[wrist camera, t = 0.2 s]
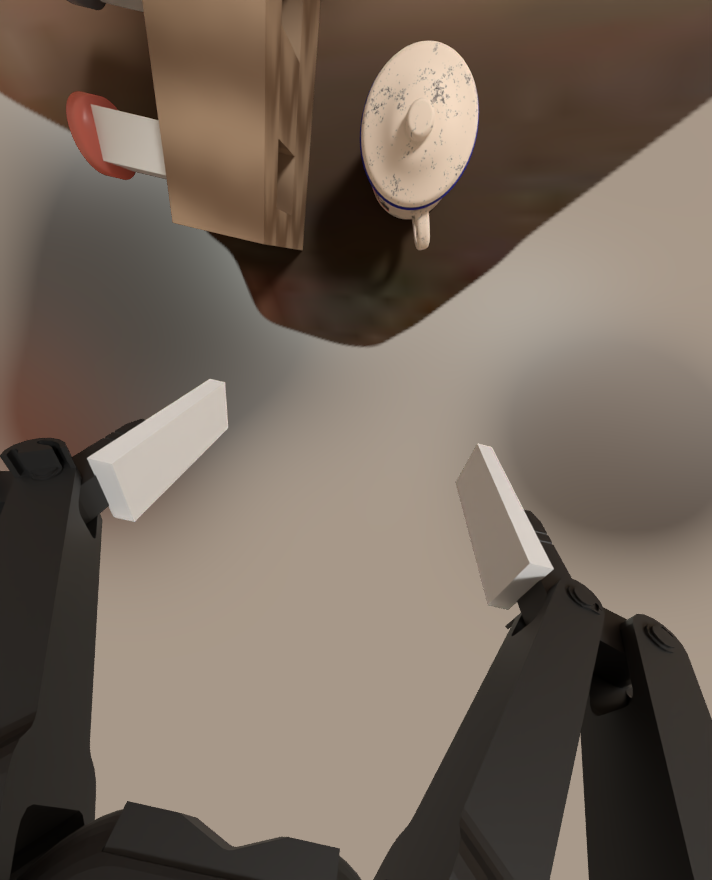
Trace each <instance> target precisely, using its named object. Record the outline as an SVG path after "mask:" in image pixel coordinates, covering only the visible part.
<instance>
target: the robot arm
mask: <svg viewBox="0 0 712 880" xmlns="http://www.w3.org/2000/svg"><path fill="white" fill-rule="evenodd" d="M227 429H228V418H227V403H226V389H225V382H221V381H217V380H213V379H209V380H208V381H206V382H204V383H203V384H201V385H200V386H198V387H197V388H195V389H194V390H192V391H190V392H189V393H187V394H186V395H184V396H183V397H181V398H180V399H178V400H176V401H175V402H173V403H172V404H170V405H169V406H167V407H166V408H164V409H163V410H161V411H159V412H158V413H156V414H155V415H153V416H152V417H150V418H148V419H147V420H144V419H140V420H137V421H134V422H131V423H128V424H126V425H124V426H122V427H121V428H119V429H117V430H116V431H115V432H113V433H111V434H109V435H107V436H106V437H105V439H104V438H103V439H101V440H99V441H98V442H96V443H94V444H93V445H91V446H90V447H88V448H86V449H85V450H83V451H81V452H80V453H78V454H76V455H75V456H73V457H71V454H70V452H69V450H68V448H67V446H66V444H65V442H63V441H61V440H59V439H54V438H38V439H32V440H27V441H24V442H21V443H18V444H15V445H13V446H11V447H9V448H8V449H6V450H4V451H3V453H2V454H1V455H0V457H1V459H2V460H3V461H4V463H5V464H6V466H7V467H8V469H9V470H10V471H0V880H361V879H360V877H359V876H358V874H357V873H356V872H355V871H354V870H353V869H352V867H351V866H350V865H349V864H348V863H347V862H346V861H345V860H344V859H342V858H341V857H340V856H339V852H340V849H339V848H335V847H330V846H326V845H321V844H316V843H312V842H308V841H303V840H299V839H294V838H290V837H278V838H274V839H269V840H265V841H261V842H257V843H252V844H248V845H244V846H239V847H233V846H231V845H229V844H228V843H227V842H226V841H224V840H223V839H222V838H221V837H220V836H218V835H217V834H216V833H215V832H213V831H212V830H211V829H210V828H208V826H206V825H205V824H204V823H203V822H201V821H200V820H199V819H198V818H196V817H192V816H189V815H185V814H182V813H178V812H174V811H169V810H164V809H160V808H156V807H151V806H147V805H142V804H138V803H133V802H129V801H127V803H126V805H125V807H124V809H123V810H119V811H115V812H113V813H110V814H107V815H104V816H102V817H100V818H98V819H96V820H95V801H96V778H95V771H94V766H93V762H92V759H91V754H90V729H91V711H92V693H93V676H94V658H95V638H96V622H97V604H98V586H99V568H100V551H101V532H102V518H101V515H100V513H101V512H102V511H103V510H104V509H106V508H107V507H108V506H109V508H110V510H111V512H112V515H113V517H116V518H120V519H124V520H128V521H133V522H135V521H136V520H137V519H138V518H139V517H140V516H141V515H142V514H143V513H144V512H145V511H146V510H147V509H148V508H149V507H150V506H151V505H152V504H153V503H154V502H155V501H156V500H157V499H158V498H159V497H160V496H161V495H162V494H163V493H164V492H165V491H166V490H167V489H168V488H169V487H170V486H171V485H172V484H173V483H174V482H175V481H176V480H177V479H178V478H179V477H180V476H181V475H182V474H183V473H184V472H185V471H186V470H187V469H188V468H189V467H190V466H191V465H192V464H193V463H194V462H195V461H196V460H197V459H198V458H199V457H200V456H201V455H202V454H203V453H204V452H205V451H206V450H207V449H208V448H209V447H210V446H211V445H212V444H213V443H214V442H215V441H216V440H217V439H218V438H219V437H220V436H221V435H222V434H223V432H225V431H226V430H227ZM456 486H457V490H458V494H459V498H460V502H461V505H462V509H463V513H464V517H465V520H466V524H467V528H468V532H469V536H470V539H471V543H472V547H473V551H474V554H475V558H476V562H477V566H478V569H479V573H480V577H481V581H482V585H483V588H484V592H485V596H486V600H487V604H488V605H489V606H494V607H498V608H503V609H507V610H508V609H510V608H511V607H512V606H513V605H514V604H515V603H516V602H518V605H519V608H520V611H521V613H520V614H519V615H518V616H517V617H515V618H514V619H513V620H512V621H511V622H510V623H508V624H507V625H506V628H507V629H509V628H510V627H511V628H510V630H509V632H508V634H507V636H506V638H505V640H504V642H503V644H502V646H501V648H500V649H499V651H498V654H497V655H496V657H495V659H494V661H493V663H492V665H491V667H490V669H489V671H488V673H487V675H486V677H485V679H484V681H483V683H482V685H481V686H480V689H479V690H478V692H477V694H476V696H475V698H474V700H473V702H472V704H471V706H470V708H469V710H468V712H467V714H466V716H465V718H464V720H463V722H462V723H461V725H460V727H459V729H458V731H457V733H456V735H455V737H454V739H453V741H452V743H451V745H450V747H449V749H448V751H447V753H446V755H445V757H444V759H443V760H442V762H441V764H440V766H439V768H438V770H437V772H436V774H435V776H434V778H433V780H432V782H431V784H430V786H429V788H428V790H427V791H426V794H425V795H424V797H423V799H422V801H421V803H420V805H419V807H418V809H417V811H416V813H415V815H414V817H413V818H412V820H411V822H410V823H409V825H408V826H407V827H406V828H405V830H404V831H403V832H402V833H401V834H400V835H399V837H398V838H397V839H396V841H395V842H394V843H393V845H392V846H391V848H390V850H389V852H388V854H387V855H386V857H385V859H384V860H383V862H382V864H381V866H380V868H379V870H378V872H377V874H376V876H375V878H374V879H373V880H550V875H551V870H552V865H553V861H554V856H555V851H556V846H557V842H558V837H559V832H560V827H561V823H562V818H563V813H564V808H565V804H566V799H567V794H568V789H569V784H570V780H571V775H572V770H573V766H574V760H575V756H576V751H577V746H578V742H579V737H580V732H581V746H582V747H581V748H582V766H583V783H584V798H585V799H584V801H585V817H586V836H587V853H588V870H589V880H712V719H711V717H710V713H709V711H708V708H707V705H706V703H705V700H704V697H703V695H702V692H701V689H700V686H699V684H698V681H697V678H696V676H695V673H694V670H693V668H692V665H691V662H690V660H689V657H688V654H687V653H686V651H685V649H684V647H683V645H682V644H681V643H680V642H679V640H678V639H677V638H676V637H675V636H674V634H673V633H671V632H670V631H669V630H668V629H667V628H666V627H664V626H663V625H662V624H660V623H659V622H658V621H656V620H655V619H653V618H651V617H649V616H646V615H643V614H636V615H634V616H633V617H631V618H629V619H628V620H627V619H625V618H623V617H621V616H619V615H617V614H615V613H613V612H611V611H609V610H607V609H605V608H603V607H602V604H601V602H600V601H599V600H598V598H597V597H596V596H595V595H594V593H593V592H592V591H590V590H589V589H588V588H587V587H586V586H585V585H583V584H581V583H579V582H578V581H576V580H574V579H572V578H571V576H570V574H569V573H568V571H567V569H566V567H565V565H564V563H563V562H562V560H561V558H560V556H559V554H558V553H557V551H556V549H555V547H554V545H552V542H551V540H550V538H549V536H548V535H547V533H546V531H545V529H544V527H543V525H542V523H541V522H540V521H539V520H538V519H537V518H536V516H535V515H534V514H533V513H532V512H531V511H527V510H524V509H523V508H522V506H521V503H520V501H519V500H518V498H517V496H516V494H515V492H514V490H513V488H512V486H511V484H510V482H509V480H508V478H507V476H506V474H505V472H504V470H503V468H502V466H501V464H500V462H499V460H498V458H497V456H496V454H495V452H494V450H493V448H492V447H490V446H486V445H481V444H477V445H476V447H475V448H474V450H473V452H472V454H471V456H470V457H469V459H468V461H467V463H466V465H465V467H464V468H463V470H462V472H461V473H460V475H459V477H458V479H457V481H456Z"/></svg>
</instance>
